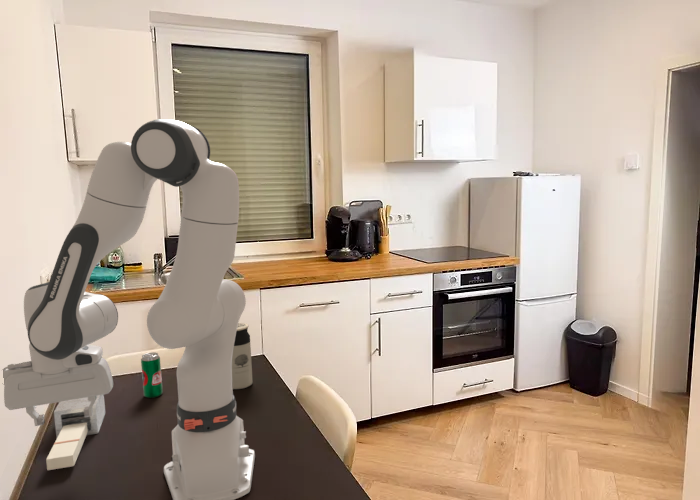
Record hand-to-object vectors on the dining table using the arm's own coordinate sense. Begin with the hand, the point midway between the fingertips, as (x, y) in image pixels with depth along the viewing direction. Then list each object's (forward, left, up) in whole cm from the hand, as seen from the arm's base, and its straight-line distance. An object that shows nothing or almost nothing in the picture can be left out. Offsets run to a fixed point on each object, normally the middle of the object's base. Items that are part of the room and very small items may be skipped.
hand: (64, 420), depth 111 cm
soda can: (+34, -15, -11) cm, 39 cm away
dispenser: (+20, +1, -10) cm, 23 cm away
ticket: (+5, +1, -9) cm, 10 cm away
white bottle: (+33, -39, -11) cm, 52 cm away
